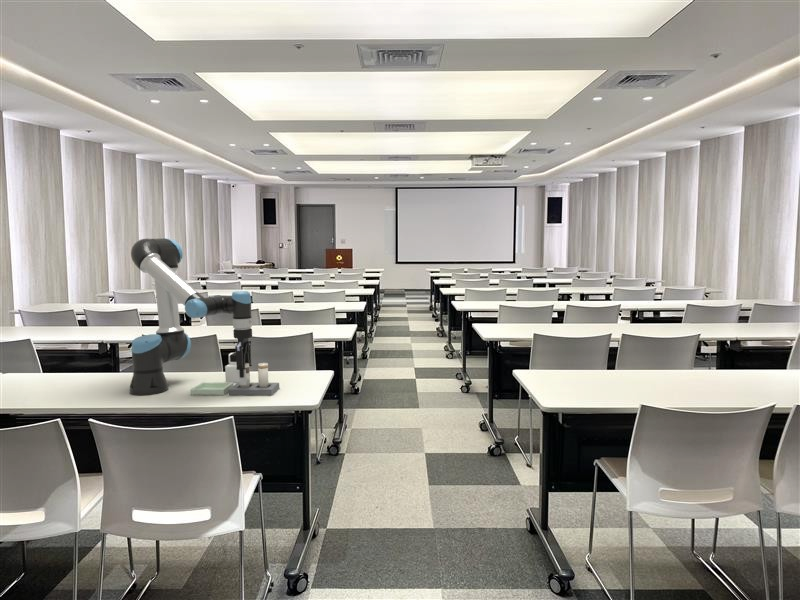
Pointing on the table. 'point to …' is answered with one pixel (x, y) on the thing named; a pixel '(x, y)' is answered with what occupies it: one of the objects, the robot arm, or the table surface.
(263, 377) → the cylinder
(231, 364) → the container
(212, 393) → the parts tray
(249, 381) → the fuse
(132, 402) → the table surface
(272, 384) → the fuse block
